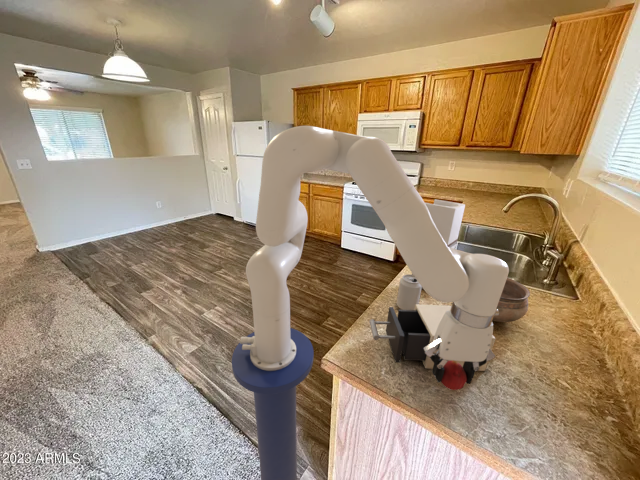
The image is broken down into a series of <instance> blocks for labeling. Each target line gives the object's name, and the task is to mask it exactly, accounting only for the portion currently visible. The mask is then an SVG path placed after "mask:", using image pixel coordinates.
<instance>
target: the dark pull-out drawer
mask: <svg viewBox="0 0 640 480" xmlns="http://www.w3.org/2000/svg"><path fill="white" fill-rule="evenodd" d="M377 325H386V328H385V333H386V335H382V334H379V331H378V328H377ZM369 326H370V331H371V335H372V339H373V340H374V341H378V340H379V339H386V340H388V342H389V347H390V349H391V353H392V356H393V359H394V362H395V364H396V363H397V364H400V363H401V360H402V359H401V358H402V356H403V359H404V360H405V361H422V360H424V361H425V360H426V354H425V352H424V350H423V348H424V347H425V346H427V345H429V342H430V337H431V336H430V334H429V332H428V330H427V328H426V326H425V324H424V322H423V321H422V319H421V317H420V315H419V313H418V311H417V310H401V309H398V310H397V313H396V311H395V309H394V307H393V306H388V311H387V320H386V321H381V320H380V321H378V320H375V319H373V318H372V319H370V320H369Z"/></svg>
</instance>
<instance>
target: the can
mask: <svg viewBox="0 0 640 480" xmlns="http://www.w3.org/2000/svg"><path fill="white" fill-rule="evenodd" d="M421 288H422V286H421V285H420V283H419V282H418V281H417V279H416V278H415V276H414V275H412V274H407V273H406V274H404V275H402V276H401V278H400V279H399V285H398V290H397V291H398V292H397V297H396V306H397V307H398V308H399V310H415V304H419V303H420V299H421V293H422V289H421Z"/></svg>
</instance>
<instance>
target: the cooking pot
mask: <svg viewBox="0 0 640 480" xmlns="http://www.w3.org/2000/svg"><path fill="white" fill-rule="evenodd" d="M530 296H531V292H530V289H529V288H528V287H526V285H524V284H523V283H520V281H517V280H515V279H512V278H510V277H507V280H506V282H505V285H504V288H503V291H502V294H501V297H500V299H499V302H498V305H497V308H496V309H498V311H499V315H498V316H494V317H493V320H492V322H498V323H512V322H516V321H518V320H520V319H522V318H524V317H525V315H526V314H527V313H528V311H529V298H530Z"/></svg>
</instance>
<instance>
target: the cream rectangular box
mask: <svg viewBox="0 0 640 480" xmlns="http://www.w3.org/2000/svg"><path fill="white" fill-rule="evenodd" d="M451 307H452V305H449V304H447V305H446V304H445V305H444V304H423V303H421V304H415V310H417V311H418V313H419V315H420V317H421V319H422V321H423V322H424V324H425V326H426V328H427V330H428V332H429V334H430V336H431V337H430V342H429V344H430V343H432V342H433V340H434V336H435V333H436V330H437V328H438V325H439V323H440V321H441V319H442V317H443V315H444V314H445V312H446V311H450V310H451ZM495 342H496V337H495V336H494V335H493V336H492V341H491V346H490V350H491V351H492V352H493V348H494V344H495ZM438 350H439V349H437V350H436V351H434V353H435V354H436V352H437V351H438ZM440 359H442V358H440ZM448 361H449V360H448ZM452 361H453V360H452ZM421 362H422V364H423V367H424V368H425V369H433V365H434V362H433V361H432V360H431V358H429V357H428V356H427V355H426V360H425V361H424V360H421ZM457 362H458V363H459V364H460V365H461V366H462V367H463V365H464V362H465V361H457ZM488 364H489V361H487V363H486V364H484V365H482V366H480V367H479V368H480V369H479V370H478V371H481V372H486V369H487V367H488Z"/></svg>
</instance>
